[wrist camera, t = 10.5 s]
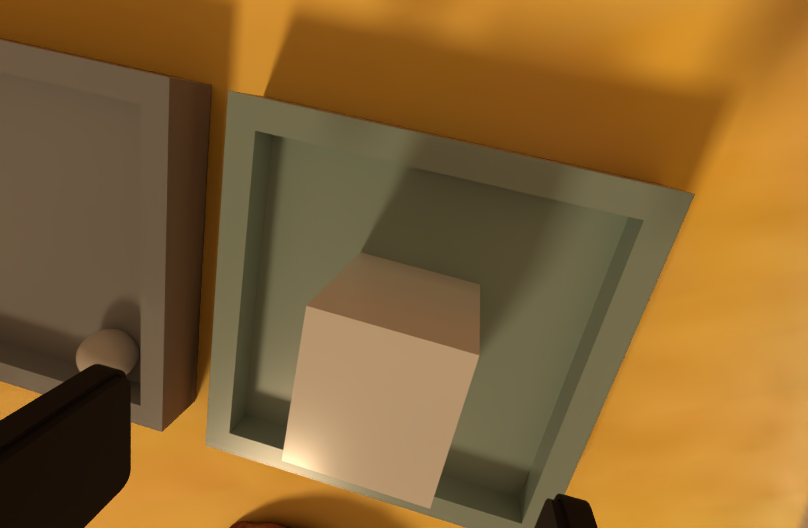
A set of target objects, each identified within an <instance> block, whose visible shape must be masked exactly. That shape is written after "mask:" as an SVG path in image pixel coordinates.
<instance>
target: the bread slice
mask: <svg viewBox="0 0 808 528" xmlns="http://www.w3.org/2000/svg"><path fill="white" fill-rule="evenodd" d="M230 528H287V527H284V526H281V525H277V524H273V523H259V524H255V523H250V522H244V521H241V522H237V523H235V524H233V525H232V526H231V527H230Z"/></svg>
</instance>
